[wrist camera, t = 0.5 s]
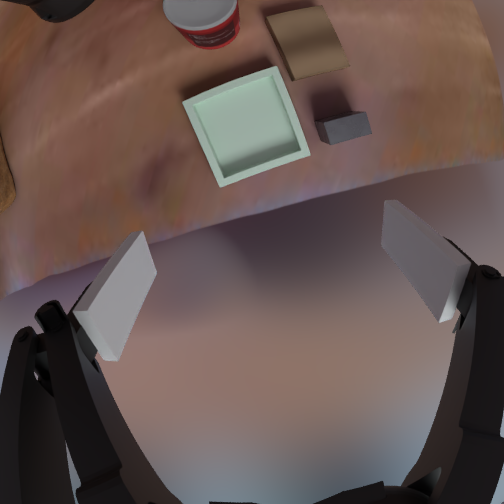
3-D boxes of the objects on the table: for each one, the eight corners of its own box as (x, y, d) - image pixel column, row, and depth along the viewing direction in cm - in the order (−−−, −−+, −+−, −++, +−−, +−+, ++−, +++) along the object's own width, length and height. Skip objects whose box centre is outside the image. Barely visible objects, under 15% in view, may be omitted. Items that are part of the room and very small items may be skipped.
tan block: (264, 23, 27) (266, 16, 25) (317, 11, 26) (322, 5, 23) (291, 81, 32) (295, 79, 29) (342, 69, 30) (350, 66, 28)
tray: (186, 102, 33) (182, 102, 31) (275, 68, 31) (276, 65, 28) (221, 183, 39) (220, 187, 36) (307, 152, 36) (310, 155, 34)
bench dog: (314, 121, 34) (323, 122, 30) (352, 111, 33) (365, 111, 29) (321, 140, 36) (330, 145, 31) (358, 130, 35) (372, 133, 30)
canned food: (207, -2, 25) (193, -35, 15) (252, 22, 27) (253, -8, 17) (173, 34, 27) (147, 11, 18) (217, 60, 30) (204, 40, 20)
